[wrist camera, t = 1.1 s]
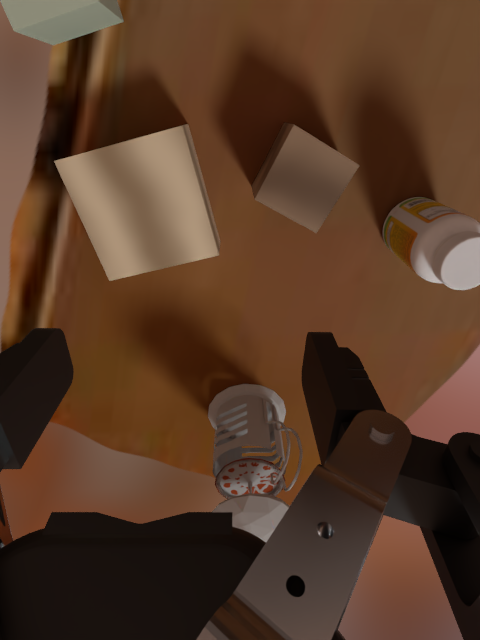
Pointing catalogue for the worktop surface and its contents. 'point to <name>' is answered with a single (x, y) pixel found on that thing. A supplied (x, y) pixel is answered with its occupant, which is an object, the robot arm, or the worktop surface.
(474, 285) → the supplement bottle
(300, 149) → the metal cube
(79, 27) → the green cube
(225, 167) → the worktop surface
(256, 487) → the french press
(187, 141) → the pine block
